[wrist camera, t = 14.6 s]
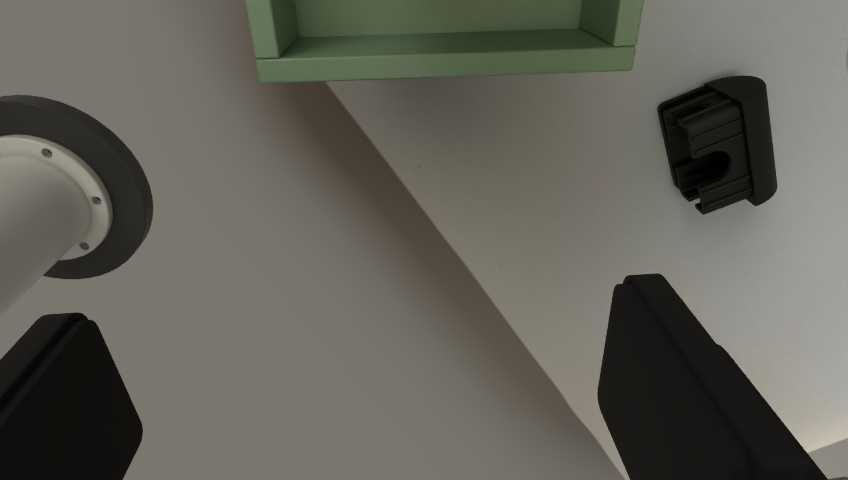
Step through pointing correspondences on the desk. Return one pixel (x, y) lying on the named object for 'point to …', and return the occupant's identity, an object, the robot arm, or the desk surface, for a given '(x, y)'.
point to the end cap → (721, 143)
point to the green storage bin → (439, 38)
